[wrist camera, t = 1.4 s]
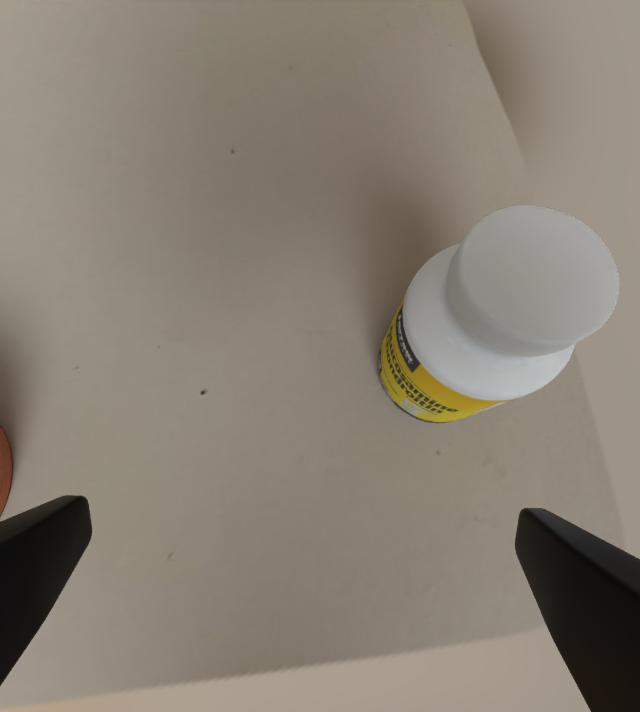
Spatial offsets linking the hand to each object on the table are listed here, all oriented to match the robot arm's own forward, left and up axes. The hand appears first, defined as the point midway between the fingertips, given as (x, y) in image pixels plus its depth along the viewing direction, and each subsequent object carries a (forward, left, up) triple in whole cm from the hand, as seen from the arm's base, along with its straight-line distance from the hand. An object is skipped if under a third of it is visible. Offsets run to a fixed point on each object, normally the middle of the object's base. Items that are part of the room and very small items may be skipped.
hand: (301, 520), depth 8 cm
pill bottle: (+4, -9, -13) cm, 16 cm away
